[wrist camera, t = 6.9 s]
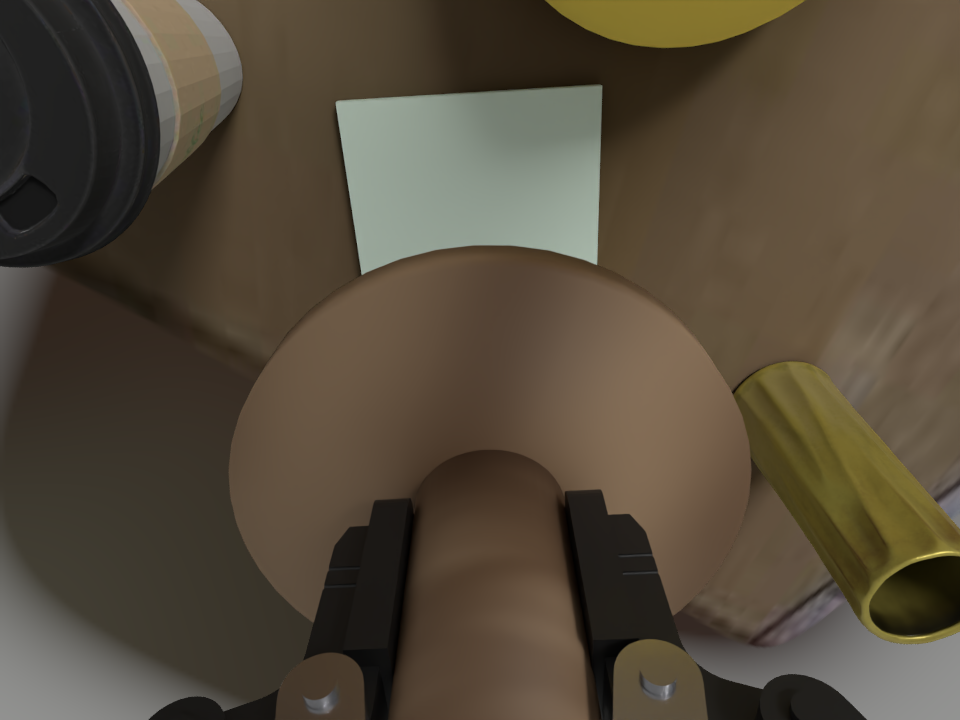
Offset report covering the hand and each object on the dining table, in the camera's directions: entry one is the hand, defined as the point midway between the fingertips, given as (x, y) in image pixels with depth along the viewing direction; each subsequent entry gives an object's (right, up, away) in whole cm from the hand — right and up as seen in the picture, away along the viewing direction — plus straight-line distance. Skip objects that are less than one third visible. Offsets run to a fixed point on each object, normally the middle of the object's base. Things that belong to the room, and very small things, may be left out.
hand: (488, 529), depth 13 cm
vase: (+17, +1, +25) cm, 30 cm away
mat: (0, +10, +19) cm, 22 cm away
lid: (0, +1, +2) cm, 2 cm away
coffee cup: (-14, +17, +16) cm, 27 cm away
